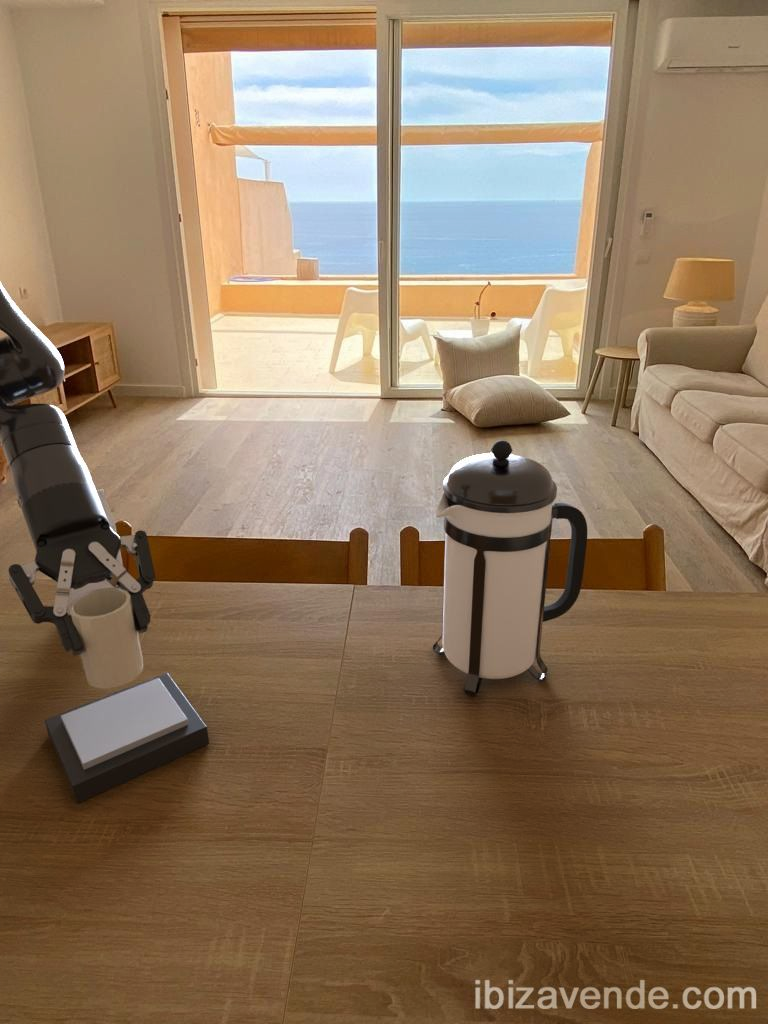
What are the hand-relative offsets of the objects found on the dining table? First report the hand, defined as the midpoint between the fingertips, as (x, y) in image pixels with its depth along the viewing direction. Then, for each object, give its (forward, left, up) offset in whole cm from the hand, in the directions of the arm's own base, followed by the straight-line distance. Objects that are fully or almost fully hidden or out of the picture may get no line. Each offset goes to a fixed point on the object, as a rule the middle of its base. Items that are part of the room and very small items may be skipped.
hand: (111, 640), depth 70 cm
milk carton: (+5, +30, -14) cm, 33 cm away
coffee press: (+43, -12, -14) cm, 47 cm away
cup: (0, +2, -5) cm, 5 cm away
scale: (0, +2, -14) cm, 14 cm away
